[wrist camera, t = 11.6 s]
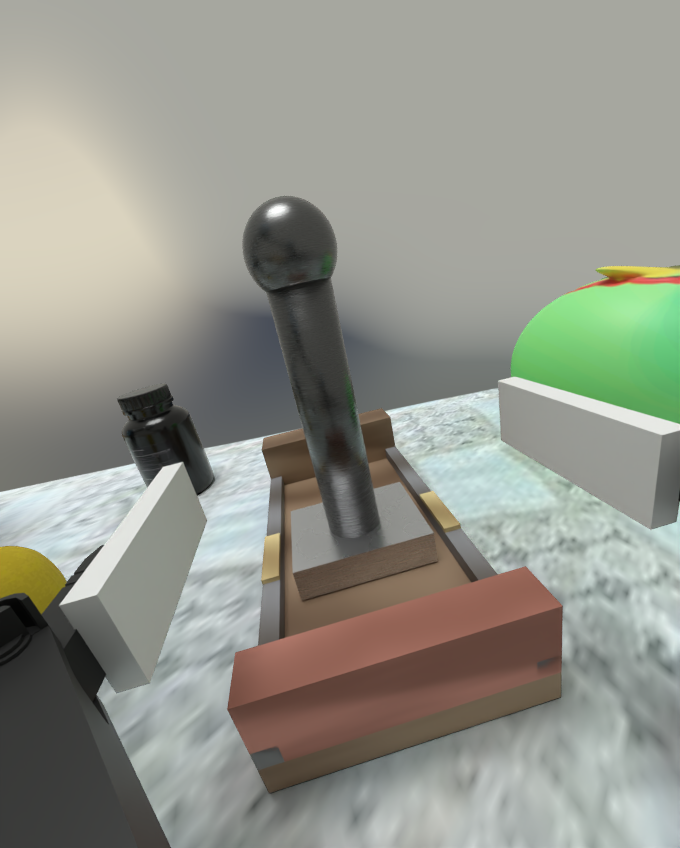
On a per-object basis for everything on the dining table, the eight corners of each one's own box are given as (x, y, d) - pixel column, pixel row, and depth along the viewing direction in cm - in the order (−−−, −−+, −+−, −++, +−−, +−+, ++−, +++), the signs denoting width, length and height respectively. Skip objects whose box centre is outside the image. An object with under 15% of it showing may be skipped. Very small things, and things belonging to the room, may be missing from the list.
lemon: (106, 604, 25) (51, 511, 22) (62, 683, 19) (-19, 574, 17) (24, 628, 24) (-43, 536, 21) (-44, 716, 19) (-145, 609, 16)
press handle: (297, 534, 25) (204, 230, 18) (403, 505, 25) (351, 200, 19) (301, 600, 19) (168, 195, 12) (437, 561, 20) (380, 154, 13)
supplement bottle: (168, 480, 43) (128, 388, 39) (221, 469, 43) (187, 375, 39) (141, 512, 37) (90, 406, 32) (204, 499, 36) (160, 391, 32)
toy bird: (478, 441, 36) (466, 292, 31) (587, 393, 41) (592, 260, 36) (716, 531, 20) (774, 251, 15) (844, 434, 25) (918, 204, 20)
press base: (278, 486, 36) (263, 438, 34) (390, 456, 36) (381, 408, 35) (269, 793, 13) (222, 699, 11) (560, 697, 14) (562, 595, 12)
